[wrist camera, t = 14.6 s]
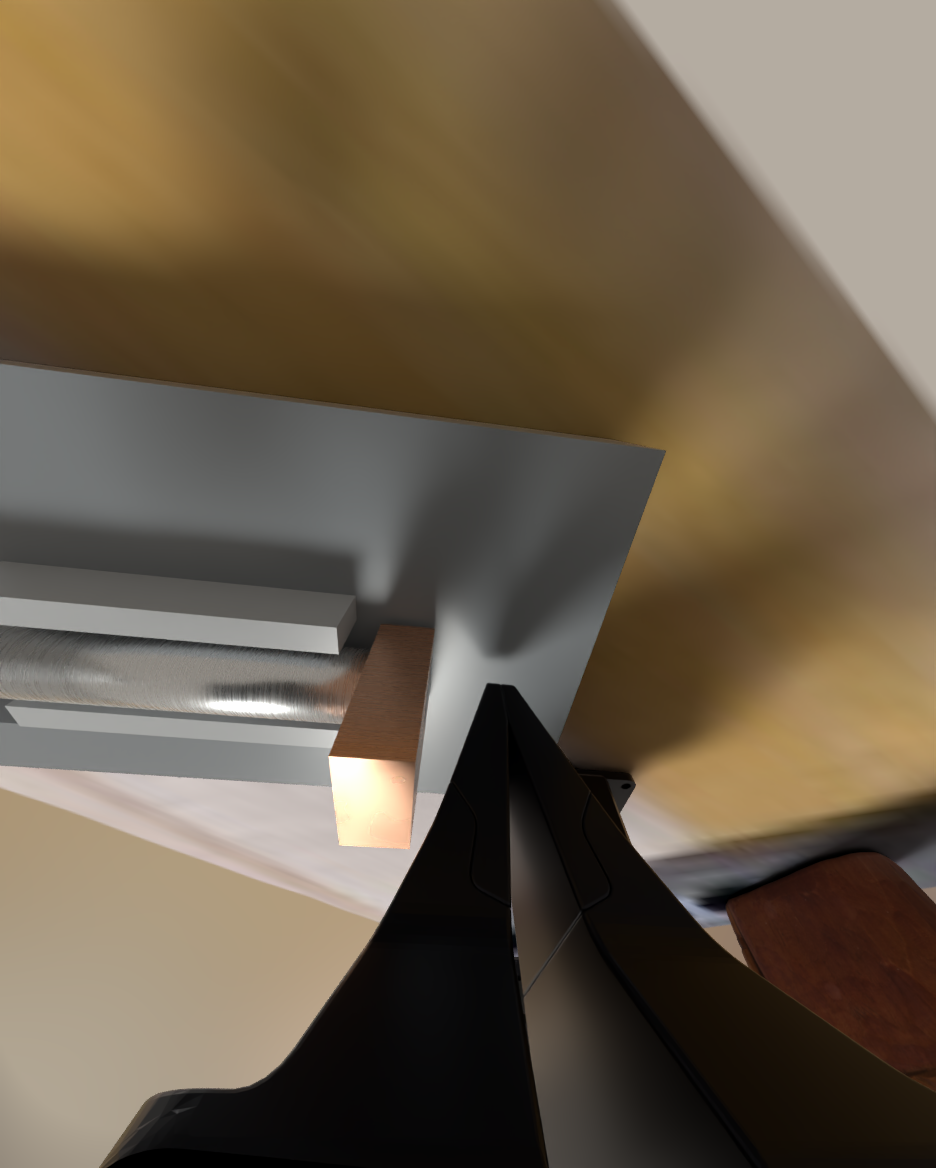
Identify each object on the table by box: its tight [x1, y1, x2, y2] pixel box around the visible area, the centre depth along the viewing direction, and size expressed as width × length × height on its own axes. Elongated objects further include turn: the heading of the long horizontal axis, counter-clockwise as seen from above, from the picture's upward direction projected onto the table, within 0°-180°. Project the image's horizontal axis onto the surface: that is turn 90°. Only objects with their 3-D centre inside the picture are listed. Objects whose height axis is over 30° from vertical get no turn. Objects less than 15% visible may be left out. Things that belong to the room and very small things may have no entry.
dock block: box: [0, 359, 666, 794], centre depth 10 cm, size 14×27×4 cm, turn 83°
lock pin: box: [0, 624, 435, 849], centre depth 8 cm, size 3×12×4 cm, turn 83°
